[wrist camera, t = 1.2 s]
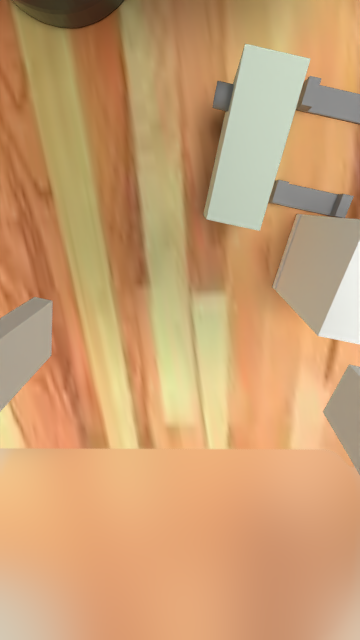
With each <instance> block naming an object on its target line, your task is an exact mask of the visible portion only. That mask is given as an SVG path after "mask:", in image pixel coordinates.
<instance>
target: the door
mask: <svg viewBox="0 0 360 640" xmlns="http://www.w3.org/2000/svg"><path fill="white" fill-rule="evenodd" d="M309 62H310V59H309V58H305V57H301V56H296V55H292V54H288V53H283V52H279V51H275V50H270V49H266V48H262V47H257V46H253V45H249V44H245V46H244V49H243V53H242V56H241V59H240V63H239V66H238V69H237V72H236V76H235V79H234V82H233V84H230V83H225V82H221V81H218V82H217V87H216V92H215V97H214V102H213V108H215V109H219V110H224V111H225V116H224V120H223V125H222V130H221V134H220V139H219V144H218V148H217V153H216V158H215V162H214V167H213V172H212V176H211V181H210V186H209V190H208V195H207V200H206V204H205V209H204V213H203V216H204V217H205V218H206V219H207V220H212V221H216V222H221V223H226V224H230V225H235V226H240V227H245V228H249V229H254V230H259V231H260V228H261V225H262V222H263V218H264V215H265V211H266V208H267V205H268V201H269V198H270V194H271V191H272V188H273V184H274V181H275V178H276V174H277V171H278V167H279V164H280V161H281V157H282V154H283V150H284V147H285V144H286V140H287V137H288V133H289V130H290V127H291V123H292V120H293V117H294V113H295V110H296V106H297V103H298V100H299V96H300V93H301V89H302V86H303V83H304V79H305V76H306V72H307V69H308V66H309Z"/></svg>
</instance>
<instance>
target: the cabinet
mask: <svg viewBox="0 0 360 640" xmlns="http://www.w3.org/2000/svg"><path fill="white" fill-rule="evenodd" d="M320 82H321V78H317V77H312V76H310V77H309V78H308V79H307V80H306V81H305V82H304V84H303V87H302V90H301V94H300V97H299V101H298V104H297V107H296V110H299V111H303V112H308V113H312V114H316V115H321V116H325V117H330V118H334V119H339V120H343V121H347V122H352V123H356V124H360V94H356V93H352V92H347V91H343V90H339V89H334V88H330V87H326V86H321V85H320ZM352 199H353V196H350V195H346V194H333V193H329V192H324V191H319V190H315V189H310V188H306V187H301V186H296V185H292V184H289V182H286V181H282V180H277V181H275V182H274V185H273V189H272V192H271V195H270V199H269V203H274V204H278V205H283V206H287V207H292V208H297V209H301V210H306V211H311V212H315V213H320V214H325V215H329V216H334V217H326V216H315V215H303V214H302V215H301V214H297V215H296V218H295V221H294V224H293V227H292V230H291V233H290V236H289V239H288V242H287V244H286V247H285V250H284V253H283V256H282V259H281V262H280V265H279V268H278V271H277V274H276V277H275V280H274V283H273V286H272V287H273V288H274V289H275V290H276V292H277V293H278V294H279V295H280V296H281V297H282V298H283V299H284V300H285V301H286V302H287V303H288V304H289V305H290V306H291V308H292V309H293V310H294V311H295V312H296V313H297V314H298V315H299V316H300V317H301V318H302V319H303V320H304V321H305V323H306V324H307V325H308V326H309V327H310V328H311V329H312V330H313V331H314V332H315V333H316V334H317V335H318V336H321V337H326V338H331V339H336V340H341V341H346V342H351V343H356V344H360V219H349V218H345V216H346V214H347V211H348V209H349V206H350V204H351V201H352ZM338 217H339V218H338Z"/></svg>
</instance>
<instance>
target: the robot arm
mask: <svg viewBox="0 0 360 640" xmlns="http://www.w3.org/2000/svg"><path fill="white" fill-rule="evenodd" d="M11 1H12V2H13V3H14V4H16V5H17V6H18V7H19V8H20V9H22V10H23V11H24V12H26V13H27V14H29V15H30V16H32V17H34V18H35V19H37V20H39V21H41V22H44V23H47V24H49V25H53V26H58V27H65V28H75V27H82V26H86V25H89V24H92V23H95V22H97V21H99V20H101V19H103V18H104V17H106V16H107V15H109V14H110V13H111V12H112V11H114V10H115V9H116V8H117V7H118V6H119V5H120V4H121V3H122V2H123V0H11ZM51 345H52V301H51V300H46V299H42V298H37V297H34V298H32V299H30V300H29V301H27V302H26V303H24V304H22V305H21V306H19V307H17V308H16V309H14V310H13V311H11V312H9V313H8V314H6V315H5V316H3V317H1V318H0V411H1V410H2V409H3V408H4V407H5V406H6V405H7V404H8V402H9V401H10V400H11V399H12V398H13V397H14V396H15V395H16V394H17V393H18V391H19V390H20V389H21V388H22V387H23V386H24V385H25V384H26V383H27V382H28V380H29V379H30V378H31V377H32V376H33V375H34V374H35V373H36V372H37V371H38V369H39V368H40V367H41V366H42V365H43V364H44V363H45V362H46V361H47V360H48V358H49V357H50V356H51ZM323 413H324V415H325V416H326V418H327V420H328V421H329V423H330V425H331V427H332V428H333V430H334V432H335V433H336V435H337V437H338V439H339V440H340V442H341V444H342V445H343V447H344V449H345V451H346V452H347V454H348V456H349V457H350V459H351V461H352V462H353V464H354V466H355V468H356V469H357V471H358V473H359V474H360V367H358V366H353V365H349V366H348V367H347V369H346V371H345V373H344V375H343V376H342V378H341V380H340V382H339V384H338V385H337V387H336V389H335V391H334V393H333V394H332V396H331V398H330V400H329V402H328V404H327V405H326V407H325V409H324V411H323Z"/></svg>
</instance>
